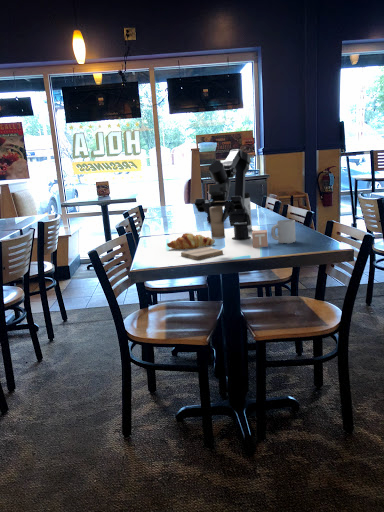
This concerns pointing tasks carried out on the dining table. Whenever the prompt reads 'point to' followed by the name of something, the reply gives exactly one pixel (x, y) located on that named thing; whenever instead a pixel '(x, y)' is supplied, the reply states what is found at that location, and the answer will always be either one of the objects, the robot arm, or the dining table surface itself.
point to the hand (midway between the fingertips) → (215, 221)
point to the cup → (284, 231)
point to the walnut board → (201, 253)
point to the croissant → (190, 242)
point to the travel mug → (248, 207)
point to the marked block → (260, 238)
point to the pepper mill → (217, 222)
